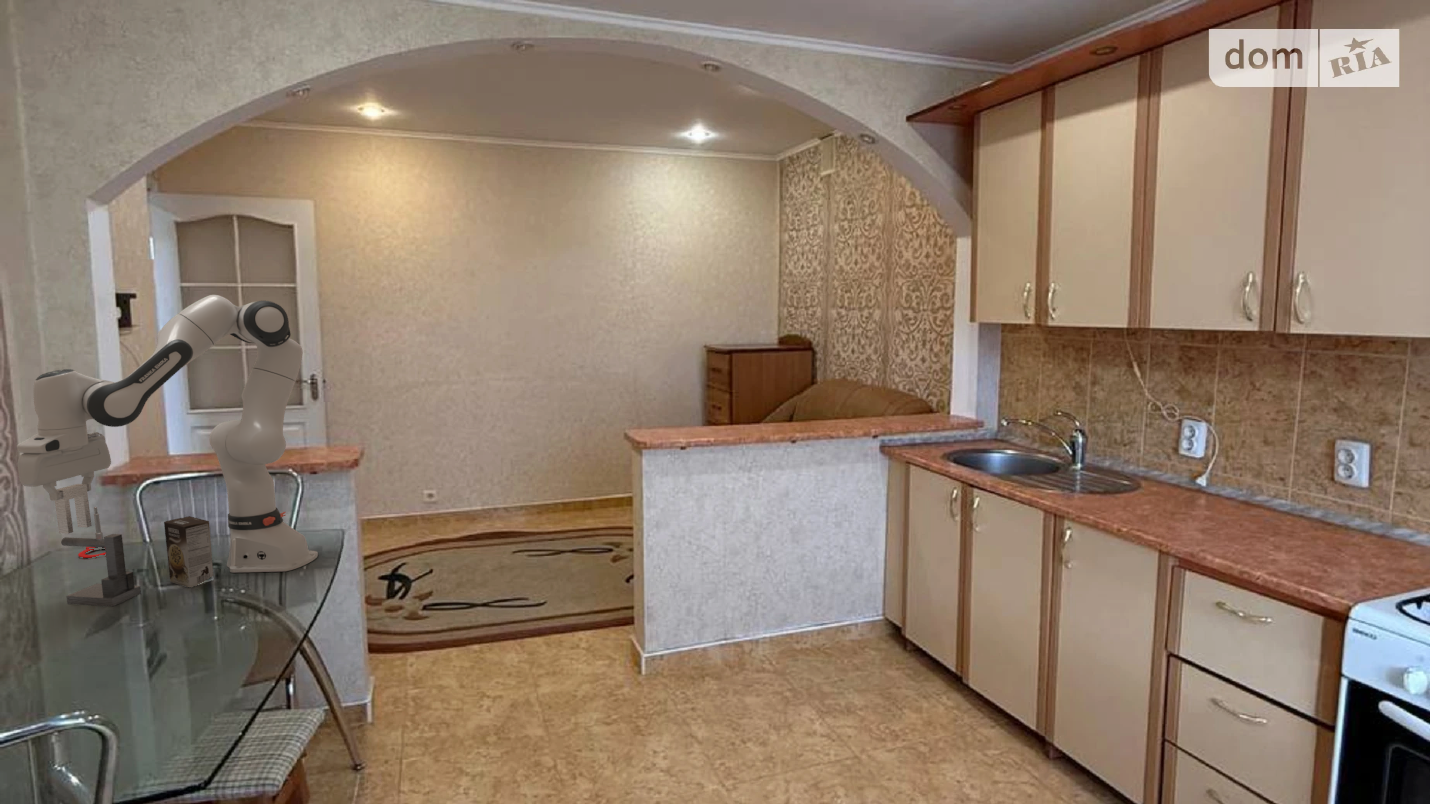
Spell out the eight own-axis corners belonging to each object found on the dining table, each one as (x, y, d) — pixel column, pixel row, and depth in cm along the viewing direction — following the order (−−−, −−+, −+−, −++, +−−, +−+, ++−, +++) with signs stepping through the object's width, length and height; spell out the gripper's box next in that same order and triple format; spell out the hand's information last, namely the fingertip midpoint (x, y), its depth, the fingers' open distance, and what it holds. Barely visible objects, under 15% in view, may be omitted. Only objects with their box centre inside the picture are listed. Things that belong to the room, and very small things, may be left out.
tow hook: (113, 557, 218) (119, 546, 226) (107, 514, 215) (114, 504, 223) (75, 562, 214) (83, 551, 222) (68, 518, 211) (77, 508, 219)
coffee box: (168, 582, 198) (162, 521, 196) (195, 574, 204) (189, 515, 202) (188, 588, 194) (182, 526, 192) (215, 580, 200) (209, 519, 197)
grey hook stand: (141, 593, 191) (134, 530, 188) (112, 606, 183) (105, 541, 181) (86, 590, 192) (79, 528, 190) (56, 603, 185) (48, 538, 182)
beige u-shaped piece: (91, 525, 189) (86, 484, 187) (68, 533, 183) (62, 490, 181) (82, 525, 189) (77, 483, 187) (59, 533, 183) (53, 490, 182)
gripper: (91, 430, 193) (98, 484, 195) (8, 447, 173) (17, 506, 175) (114, 430, 192) (121, 484, 195) (33, 447, 172) (42, 507, 174)
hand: (71, 495), depth 185 cm, fingers closed on beige u-shaped piece, 6 cm apart
